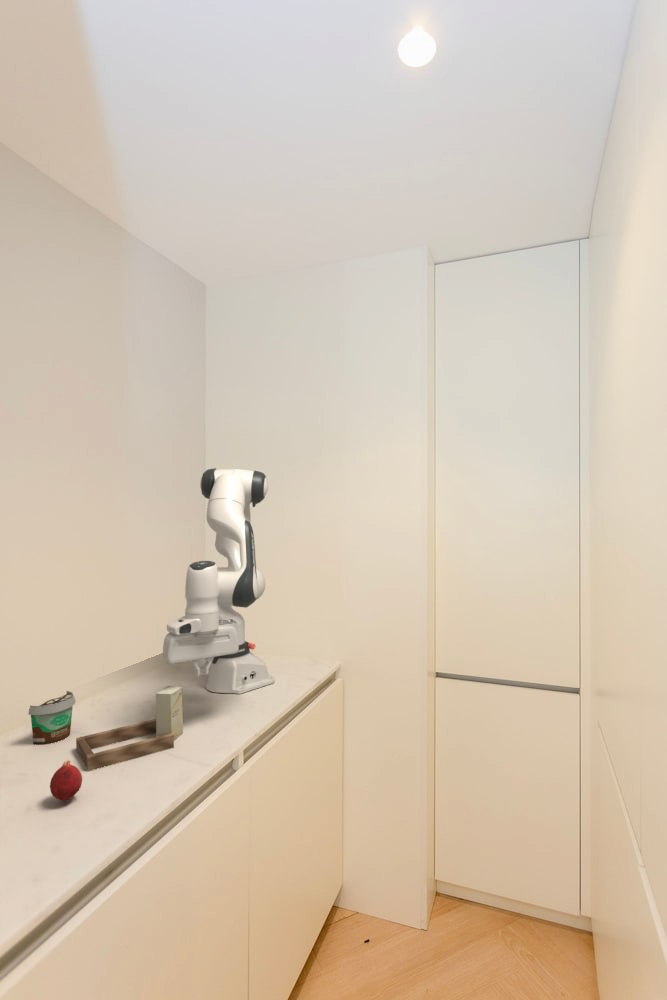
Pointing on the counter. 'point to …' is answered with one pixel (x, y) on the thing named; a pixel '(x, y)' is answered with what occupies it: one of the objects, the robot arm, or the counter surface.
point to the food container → (52, 719)
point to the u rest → (122, 752)
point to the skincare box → (169, 711)
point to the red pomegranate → (66, 782)
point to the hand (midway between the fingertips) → (201, 675)
